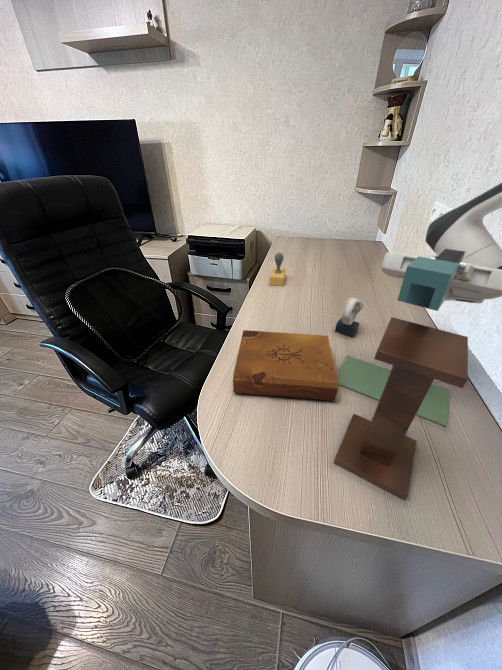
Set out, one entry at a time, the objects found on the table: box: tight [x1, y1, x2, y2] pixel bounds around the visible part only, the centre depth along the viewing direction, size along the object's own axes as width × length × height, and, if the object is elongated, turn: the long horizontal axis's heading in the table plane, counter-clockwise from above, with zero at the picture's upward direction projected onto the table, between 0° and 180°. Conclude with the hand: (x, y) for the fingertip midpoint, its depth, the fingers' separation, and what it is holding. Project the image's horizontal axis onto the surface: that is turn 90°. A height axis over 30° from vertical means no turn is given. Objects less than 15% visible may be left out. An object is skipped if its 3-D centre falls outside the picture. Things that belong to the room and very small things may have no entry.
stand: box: [333, 316, 469, 501], centre depth 45 cm, size 12×12×26 cm
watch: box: [334, 297, 364, 339], centre depth 83 cm, size 6×8×11 cm
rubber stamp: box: [269, 252, 287, 287], centre depth 114 cm, size 10×6×12 cm, turn 171°
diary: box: [232, 329, 339, 402], centre depth 69 cm, size 23×19×6 cm
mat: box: [336, 355, 450, 428], centre depth 66 cm, size 24×12×1 cm, turn 57°
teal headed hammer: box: [397, 249, 465, 312], centre depth 42 cm, size 5×19×5 cm, turn 138°
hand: (447, 264), depth 45 cm, fingers closed on teal headed hammer, 3 cm apart
